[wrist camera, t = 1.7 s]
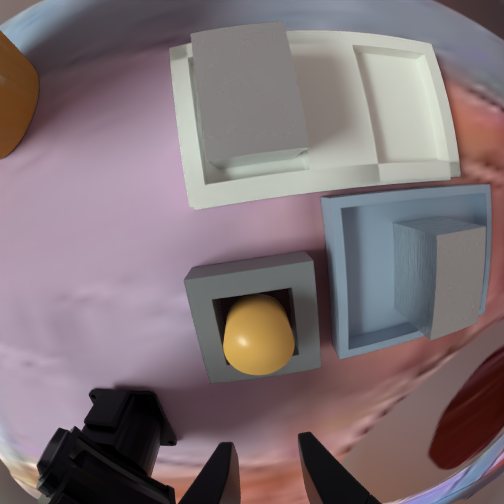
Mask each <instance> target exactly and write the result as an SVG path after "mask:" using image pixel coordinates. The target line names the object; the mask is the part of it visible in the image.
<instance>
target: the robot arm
mask: <svg viewBox="0 0 504 504" xmlns="http://www.w3.org/2000/svg"><path fill="white" fill-rule="evenodd" d="M89 397H90V399H91V400H92V402H93V404H94V405H93V407H92V408H91V410H90V411H89V413H88V415H87V416H86V418H85V420H84V423H85V426H84V427H83V429H82V431H81V430H80V429H78V428H77V427H76V426H74V427H73V428H72V429H71V430H70V431H69V430H65V429H62V428H58V429H57V431H56V432H55V434H54V435H53V437H52V438H51V440H50V441H49V443H48V445H47V446H46V448H45V450H44V452H43V454H42V456H41V457H40V459H39V461H38V463H37V468H38V472H39V477H38V480H39V481H38V484H37V487H36V489H37V490H39V491H40V492H41V493H42V495H41V497H40V498H39V500H38V502H37V504H176V501H175V491H174V488H173V487H171V486H169V485H167V486H166V485H164V484H162V483H160V482H159V481H157V480H155V479H153V478H151V475H152V472H153V468H154V465H155V461H156V458H157V454H158V451H159V447H160V446H175V445H176V444H177V439H176V437H175V435H174V433H173V431H172V429H171V427H170V424H169V422H168V420H167V418H166V416H165V414H164V411H163V409H162V407H161V405H160V402H159V400H158V398H157V396H156V394H155V393H153V392H151V391H111V390H91V391H90V393H89ZM150 397H151V398H150ZM298 446H299V454H300V460H301V466H302V472H303V478H304V484H305V489H306V492H307V496H308V499H309V502H310V504H381V503H380V502H379V501H378V500H377V499H376V498H375V497H373V495H370V493H369V492H368V491H367V490H366V489H365V488H364V487H363V486H362V485H361V484H360V483H359V482H358V481H357V480H356V479H355V478H354V477H353V476H352V475H351V474H350V473H349V472H348V471H347V470H346V469H345V468H344V467H343V466H342V465H341V464H340V463H339V462H338V461H337V460H336V459H335V458H334V457H333V456H332V454H331V453H330V452H329V451H328V450H327V449H326V448H325V447H324V446H323V445H322V444H321V443H320V442H319V441H318V439H317V438H316V437H315V436H314V435H313V434H312V433H311V432H304V433H299V434H298ZM240 500H241V492H240V477H239V461H238V455H237V452H236V449H235V446H234V444H233V442H221V443H220V444H219V445H218V447H217V448H216V450H215V451H214V453H213V454H212V456H211V457H210V459H209V460H208V462H207V463H206V465H205V466H204V467H203V469H202V470H201V472H200V473H199V475H198V476H197V478H196V479H195V481H194V482H193V483H192V485H191V486H190V488H189V489H188V490H187V492H186V493H185V495H184V496H183V497H182V499H181V500H180V501H179V503H178V504H240Z"/></svg>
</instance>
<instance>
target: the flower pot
mask: <svg viewBox="0 0 504 504" xmlns="http://www.w3.org/2000/svg"><path fill="white" fill-rule="evenodd" d="M38 93H39V79H38V74H37V72H36V70H35V68H34V66H33V65H32V64H31V63H30V62H29V61H28V60H27V58H26V57H25V56H24V55H23V54H22V53H21V52H20V51H19V50H18V48H17V47H16V46H15V45H14V44H13V43H12V42H11V41H10V40H9V39H8V38H7V37H6V36H5V35H4V34H3V33H2V32H1V31H0V159H2V158H4V157H6V156H7V155H8V154H9V153H10V152H11V151H12V150H13V149H14V148H15V147H16V146H17V145H18V143H19V142H20V141H21V139H22V137H23V136H24V134H25V132H26V130H27V128H28V126H29V124H30V122H31V120H32V117H33V114H34V111H35V108H36V104H37V100H38Z"/></svg>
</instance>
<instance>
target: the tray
mask: <svg viewBox="0 0 504 504" xmlns="http://www.w3.org/2000/svg"><path fill="white" fill-rule="evenodd" d="M320 198H321V206H322V214H323V223H324V232H325V242H326V252H327V263H328V275H329V289H330V305H331V324H332V346H333V347H334V349H335V351H336V353H337V355H338V357H339V359H344V358H348V357H352V356H356V355H360V354H364V353H368V352H372V351H376V350H380V349H383V348H387V347H390V346H394V345H397V344H401V343H404V342H407V341H411V340H414V339H417V338H420V337H423V336H424V335H423V334H422V333H421V332H420V331H419V330H418V329H417V328H415V327H414V326H413V325H412V324H411V323H410V322H409V321H408V320H406V319H405V318H404V317H403V316H402V315H401V314H400V313H399V312H397V311H396V310H395V309H394V244H393V225H392V223H394V222H401V221H408V220H416V219H423V218H430V217H437V216H439V217H444V218H449V219H454V220H458V221H463V222H467V223H472V224H476V225H480V226H485V227H486V243H485V263H484V276H483V286H482V294H481V302H480V309H479V315H482V314H484V312H485V305H486V298H487V291H488V282H489V272H490V259H491V235H492V214H491V190H490V184H457V185H442V186H428V187H415V188H403V189H392V190H382V191H372V192H362V193H353V194H344V195H336V196H327V197H320ZM479 315H478V316H479Z"/></svg>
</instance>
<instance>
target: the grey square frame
mask: <svg viewBox="0 0 504 504" xmlns="http://www.w3.org/2000/svg"><path fill="white" fill-rule="evenodd" d="M184 284H185V288H186V293H187V297H188V301H189V306H190V310H191V314H192V318H193V322H194V326H195V330H196V334H197V337H198V341H199V345H200V349H201V352H202V356H203V360H204V363H205V367H206V370H207V374H208V377H209V380H210V383H221V382H231V381H241V380H249V379H257V378H264V377H271V376H278V375H284V374H290V373H296V372H301V371H307V370H312V369H317V368H321V355H320V337H319V322H318V308H317V295H316V283H315V273H314V262H313V260H312V259H311V257H310V256H309V255H308V254H307V253H306V252H305V251H299V252H292V253H286V254H279V255H273V256H266V257H260V258H253V259H247V260H240V261H234V262H227V263H220V264H214V265H207V266H200V267H194V268H191V270H190V271H189V273H188V274H187V276H186V277H185V279H184ZM285 288H288V294H289V303H290V311H291V320H292V329H293V337H294V342H295V347H294V352H293V355H292V357H291V358H290V360H289V361H288V363H287V364H286V365H285V366H283V367H282V368H281V369H279V370H277V371H275V372H273V373H270V374H266V375H250V374H246V373H243V372H241V371H239V370H237V369H236V368H234V367H233V366H232V365H231V364H230V363H229V362H228V360H227V359H226V357H225V354H224V349H223V343H224V335H225V326H224V321H223V316H222V312H221V307H220V302H219V298H225V297H232V296H239V295H246V294H253V293H260V292H266V291H273V290H279V289H285Z"/></svg>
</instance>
